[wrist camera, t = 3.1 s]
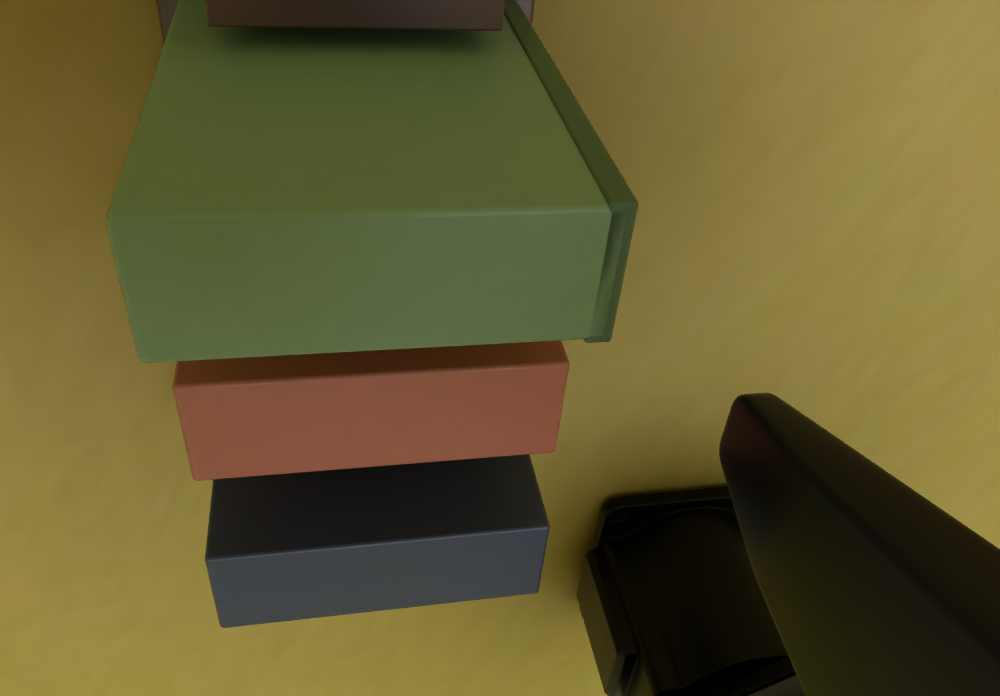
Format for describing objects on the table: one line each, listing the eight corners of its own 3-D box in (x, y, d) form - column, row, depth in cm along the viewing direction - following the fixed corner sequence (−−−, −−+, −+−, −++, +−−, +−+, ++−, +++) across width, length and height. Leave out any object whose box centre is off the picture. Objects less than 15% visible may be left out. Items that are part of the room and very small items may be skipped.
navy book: (489, 310, 22) (550, 526, 16) (484, 375, 23) (539, 594, 18) (228, 322, 21) (204, 560, 15) (239, 390, 22) (220, 629, 17)
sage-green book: (518, 1, 17) (640, 203, 11) (508, 111, 18) (611, 342, 12) (177, -6, 16) (100, 215, 10) (195, 112, 17) (139, 369, 11)
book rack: (535, -99, 17) (641, 19, 11) (489, 400, 25) (539, 599, 20) (143, -117, 15) (63, 8, 10) (232, 418, 24) (214, 635, 18)
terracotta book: (500, 176, 19) (571, 362, 14) (494, 257, 21) (555, 453, 16) (206, 181, 18) (171, 386, 13) (219, 267, 20) (193, 483, 15)
